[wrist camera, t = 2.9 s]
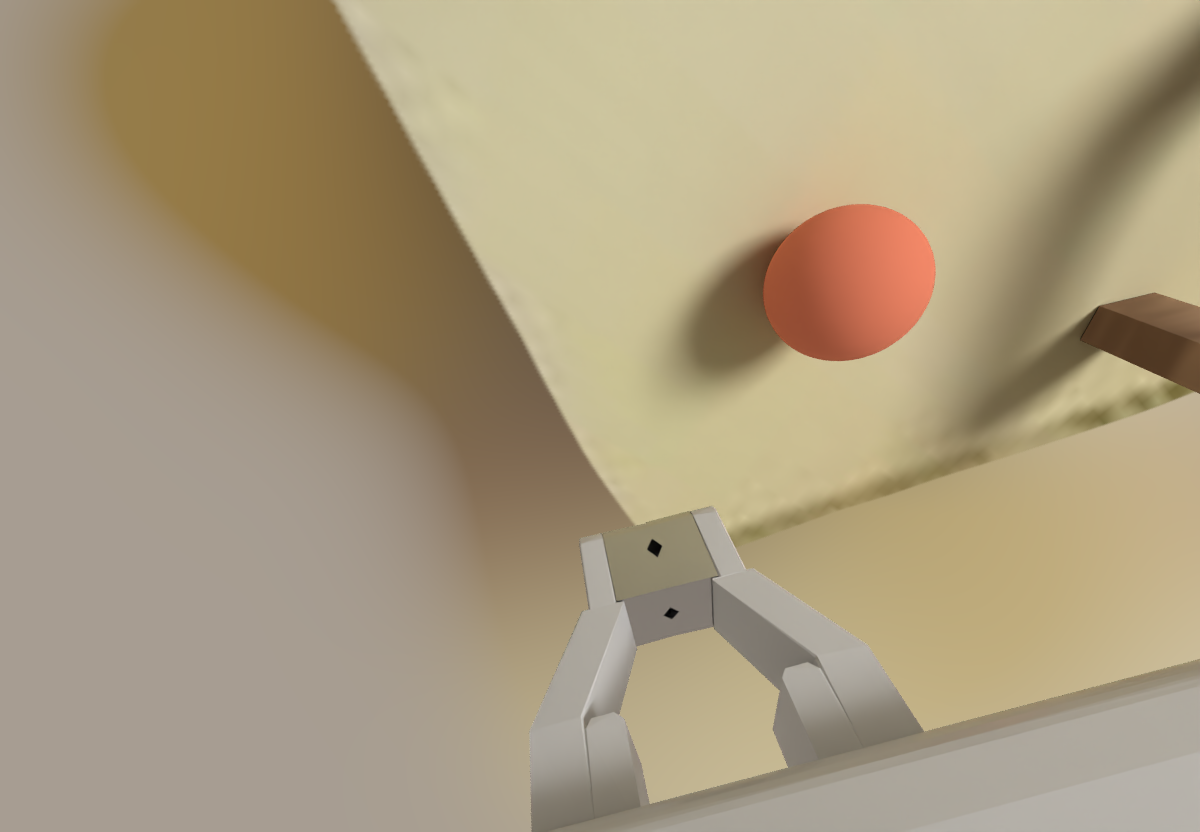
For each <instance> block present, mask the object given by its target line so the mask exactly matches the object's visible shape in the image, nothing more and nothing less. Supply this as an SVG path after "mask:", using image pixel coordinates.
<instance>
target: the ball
mask: <svg viewBox="0 0 1200 832" xmlns="http://www.w3.org/2000/svg"><path fill="white" fill-rule="evenodd" d="M934 282H935V261H934V256H933V252H932V250H931V247H930V245H929V242H928V240H927V238H926V237H925V235H924V234H923V233H922V231H921V230H920V229H919V228H918V227H917V226H916V225H915V224H914V223H913V222H912V221H911V220H909V219H908V218H907V217H905V216H904V215H902V214H900V213H898V212H896V211H894V210H891V209H888V208H885V207H881V206H876V205H869V204H855V205H846V206H841V207H836V208H833V209H830V210H827V211H825V212H822V213H820V214H818V215H816V216H814V217H812V218H810V219H809V220H807V221H805V222H804V223H802V224H801V225H800V226H798V227H797V228H796V229H795V230H794V231H793V232H791V233H790V235H789V236H788V237H787V238H786V239H785V240H784V241H783V242H782V244H781V245H780V246H779V248H778V249H777V251H776V252H775V254H774V256H773V258H772V260H771V262H770V264H769V266H768V269H767V272H766V276H765V280H764V287H763V300H764V307H765V311H766V314H767V317H768V320H769V322H770V323H771V325H772V327H773V329H774V331H775V332H776V333H777V334H778V336H779V337H780V338H781V339H782V340H783V341H784V342H785V343H786V344H788V345H789V346H790V347H791V348H793V349H795V350H796V351H798V352H800V353H802V354H804V355H807V356H809V357H813V358H816V359H821V360H829V361H846V360H854V359H859V358H863V357H866V356H869V355H872V354H875V353H877V352H880V351H881V350H883V349H885V348H887V347H889V346H890V345H892V344H893V343H895V342H896V341H898V340H899V339H900V338H902V337H903V336H904V335H905V334H906V333H907V332H908V331H909V330H910V329H911V328H912V327H913V326H914V325H915V324H916V323H917V321H918V320H919V318H920V317H921V315H922V314H923V312H924V311H925V309H926V307H927V305H928V303H929V301H930V298H931V295H932V292H933V288H934Z"/></svg>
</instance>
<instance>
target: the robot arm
mask: <svg viewBox="0 0 1200 832" xmlns="http://www.w3.org/2000/svg"><path fill="white" fill-rule="evenodd" d="M579 545H580V553H581V560H582V566H583V573H584V580H585V587H586V593H587V600H588V606H589V609H588V610H585V611H582V612H581V615H580V617H579V619H578V622H577V624H576V626H575V629H574V631H573V633H572V636H571V638H570V640H569V642H568V644H567V647H566V649H565V652H564V654H563V656H562V658H561V661H560V663H559V665H558V667H557V670H556V672H555V674H554V677H553V679H552V681H551V683H550V686H549V688H548V690H547V692H546V695H545V697H544V700H543V702H542V704H541V706H540V708H539V711H538V713H537V716H536V718H535V720H534V722H533V725H532V727H531V729H530V774H531V775H530V777H531V820H532V821H531V823H532V832H1200V659H1198V660H1195V661H1191V662H1187V663H1183V664H1179V665H1175V666H1171V667H1168V668H1164V669H1160V670H1156V671H1153V672H1149V673H1145V674H1141V675H1138V676H1134V677H1130V678H1126V679H1122V680H1118V681H1115V682H1111V683H1107V684H1103V685H1100V686H1096V687H1092V688H1088V689H1084V690H1081V691H1077V692H1073V693H1070V694H1066V695H1062V696H1058V697H1054V698H1050V699H1047V700H1043V701H1039V702H1035V703H1031V704H1027V705H1024V706H1020V707H1016V708H1012V709H1009V710H1005V711H1001V712H997V713H993V714H990V715H986V716H982V717H978V718H974V719H971V720H967V721H963V722H960V723H956V724H952V725H948V726H944V727H940V728H937V729H933V730H929V731H925V732H924V731H923V729H922V728H921V726H920V724H919V723H918V722H917V720H916V718H915V717H914V716H913V714H912V712H911V711H910V709H909V708H908V706H907V704H906V703H905V701H904V700H903V698H902V697H901V695H900V694H899V692H898V691H897V689H896V688H895V686H894V685H893V683H892V682H891V680H890V678H889V677H888V675H887V674H886V673H885V671H884V669H883V668H882V666H881V664H880V663H879V661H878V660H877V658H876V657H875V655H874V654H873V652H872V651H871V649H870V648H869V646H868V645H867V644H865V643H864V642H863V641H861V640H859V639H858V638H857V637H855V636H854V635H852V634H851V633H849V632H848V631H846V630H845V629H843V628H842V627H840V626H839V625H837V624H836V623H834V622H833V621H831V620H829V619H828V618H827V617H825V616H824V615H822V614H821V613H819V612H818V611H816V610H815V609H813V608H812V607H810V606H809V605H807V604H806V603H804V602H803V601H801V600H800V599H798V598H797V597H795V596H794V595H792V594H791V593H789V592H788V591H786V590H785V589H783V588H782V587H780V586H779V585H778V584H776V583H775V582H773V581H772V580H770V579H768V578H767V577H765V576H764V575H763V574H761V573H759V572H758V571H756V570H755V569H754V568H752V569H747V570H746V568H745V567H744V564H743V562H742V561H741V559H740V556H739V554H738V553H737V550H736V548H735V546H734V544H733V542H732V540H731V538H730V536H729V534H728V532H727V530H726V528H725V526H724V524H723V522H722V520H721V518H720V516H719V514H718V512H717V510H716V509H715V508H714V507H713V506H709V507H705V508H701V509H698V510H694V511H690V512H689V511H687V512H683V513H680V514H676V515H672V516H668V517H664V518H661V519H657V520H653V521H649V522H646V524H641V525H636V526H632V527H627V528H623V529H618V530H614V531H609V532H605V533H603V534H602V533H600V534H596V535H592V536H588V537H584V538H580V544H579ZM710 627H714V629H715V630H716V631H717V632H718V633H719V634H720V635H721V636H722V637H723V638H724V639H725V640H727V641H728V642H729V643H730V644H731V645H732V646H733V647H734V648H735V649H736V650H737V651H738V652H739V653H740V654H741V655H742V656H744V657H745V658H746V659H747V660H748V661H749V662H750V663H751V664H752V665H753V666H754V667H755V668H756V669H757V670H759V672H761V673H762V674H763V675H764V676H765V677H766V678H767V679H768V680H769V681H770V682H771V683H772V684H773V685H774V686H775V687H776V688H778V689H779V690H780V693H779V698H778V704H777V709H776V714H775V720H774V726H773V731H774V734H775V736H776V738H777V741H778V743H779V746H780V748H781V750H782V753H783V756H784V758H785V761H786V763H787V766H788V768H785V769H781V770H778V771H774V772H770V773H766V774H762V775H759V776H755V777H752V778H747V779H743V780H740V781H736V782H732V783H728V784H724V785H721V786H717V787H713V788H710V789H706V790H702V791H698V792H694V793H690V794H687V795H683V796H679V797H675V798H672V799H668V800H664V801H660V802H657V803H653V804H649V799H648V794H647V789H646V785H645V780H644V775H643V770H642V765H641V762H640V759H639V757H638V754H637V752H636V749H635V746H634V744H633V741H632V739H631V736H630V733H629V730H628V728H627V725H626V722H625V720H624V718H623V717H621V716H619V713H620V710H621V706H622V702H623V698H624V695H625V691H626V687H627V684H628V680H629V676H630V673H631V669H632V665H633V661H634V658H635V654H636V651H637V648H636V646H639V645H643V644H646V643H650V642H653V641H657V640H660V639H664V638H667V637H671V636H674V635H679V634H683V633H688V632H692V631H697V630H701V629H706V628H710Z"/></svg>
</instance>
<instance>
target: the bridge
mask: <svg viewBox="0 0 1200 832" xmlns="http://www.w3.org/2000/svg"><path fill="white" fill-rule="evenodd" d="M1080 340H1081V341H1083V342H1085V343H1088V344H1090V345H1092V346H1094V347H1096V348H1099V349H1101V350H1103V351H1105V352H1108V353H1110V354H1112V355H1114V356H1117V357H1119V358H1121V359H1123V360H1126V361H1128V362H1130V363H1132V364H1135V365H1137V366H1139V367H1141V368H1143V369H1146V370H1148V371H1150V372H1152V373H1155V374H1157V375H1159V376H1161V377H1164V378H1166V379H1168V380H1170V381H1173V382H1175V383H1177V384H1179V385H1182V386H1184V387H1186V388H1188V389H1190V390H1193V391H1195V392H1197V393H1199V394H1200V307H1198V306H1195V305H1192V304H1188V303H1185V302H1182V301H1179V300H1176V299H1173V298H1170V297H1167V296H1164V295H1160V294H1157V293H1152V294H1148V295H1143V296H1139V297H1135V298H1131V299H1127V300H1123V301H1118V302H1114V303H1110V304H1106V305H1102V306H1099V308H1098V310H1097V312H1096V313H1095V315H1094V317H1093V319H1092V320H1091V322H1090V324H1089V326H1088V327H1087V329H1086V331H1085V333H1084V334H1083V336H1082V338H1081V339H1080Z"/></svg>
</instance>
